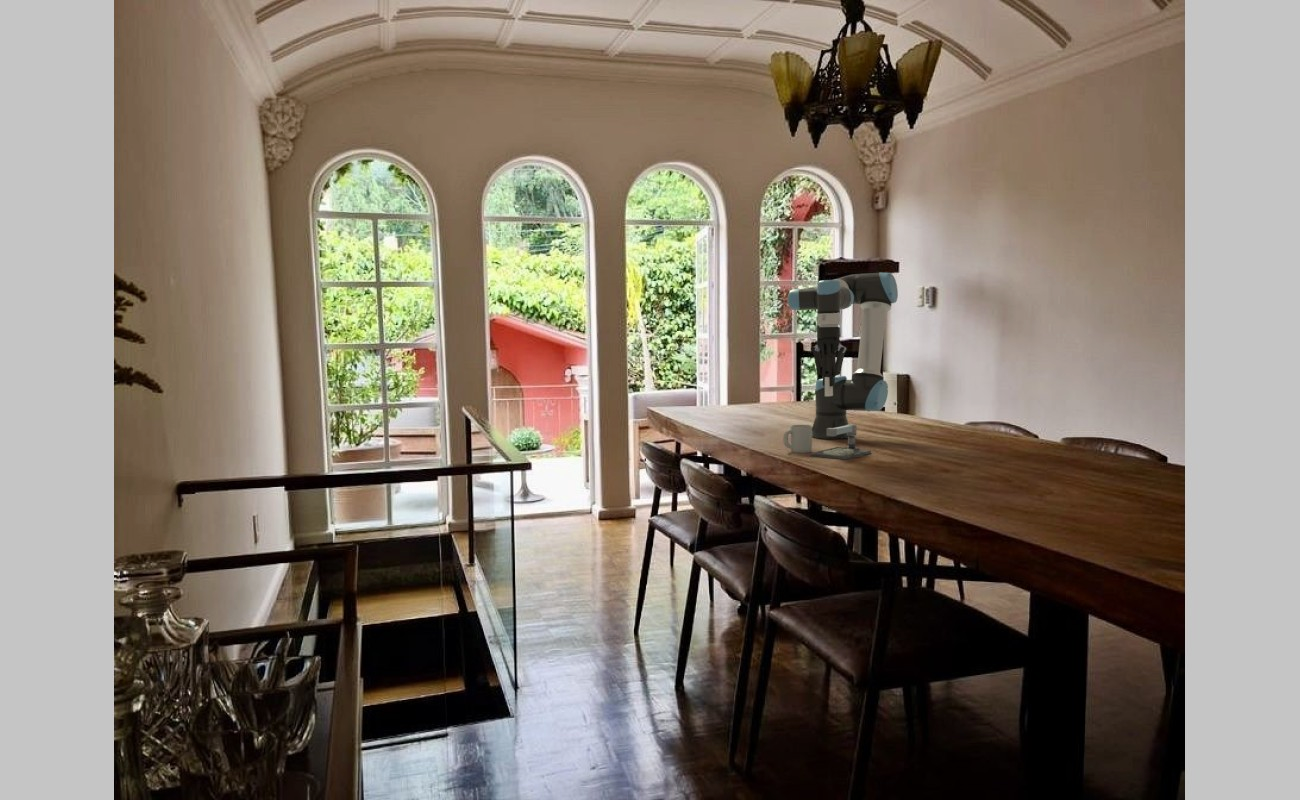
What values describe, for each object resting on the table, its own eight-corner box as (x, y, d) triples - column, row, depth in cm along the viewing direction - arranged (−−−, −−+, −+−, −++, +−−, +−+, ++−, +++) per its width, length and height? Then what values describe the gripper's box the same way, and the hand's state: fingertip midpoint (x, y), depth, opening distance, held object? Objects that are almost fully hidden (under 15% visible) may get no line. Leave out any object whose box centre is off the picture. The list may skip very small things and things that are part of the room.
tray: (837, 449, 281) (837, 434, 280) (871, 453, 272) (871, 437, 271) (811, 455, 269) (811, 439, 268) (846, 459, 260) (846, 442, 259)
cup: (814, 452, 276) (814, 426, 275) (786, 453, 275) (786, 427, 274) (808, 449, 283) (808, 424, 282) (780, 450, 282) (780, 425, 281)
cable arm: (849, 434, 276) (849, 423, 276) (858, 434, 274) (858, 424, 274) (825, 439, 266) (825, 428, 265) (834, 440, 263) (834, 429, 263)
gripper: (806, 326, 274) (806, 396, 276) (839, 326, 265) (839, 397, 267) (818, 326, 279) (818, 394, 281) (851, 325, 270) (851, 396, 272)
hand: (828, 395), depth 274 cm, fingers closed
